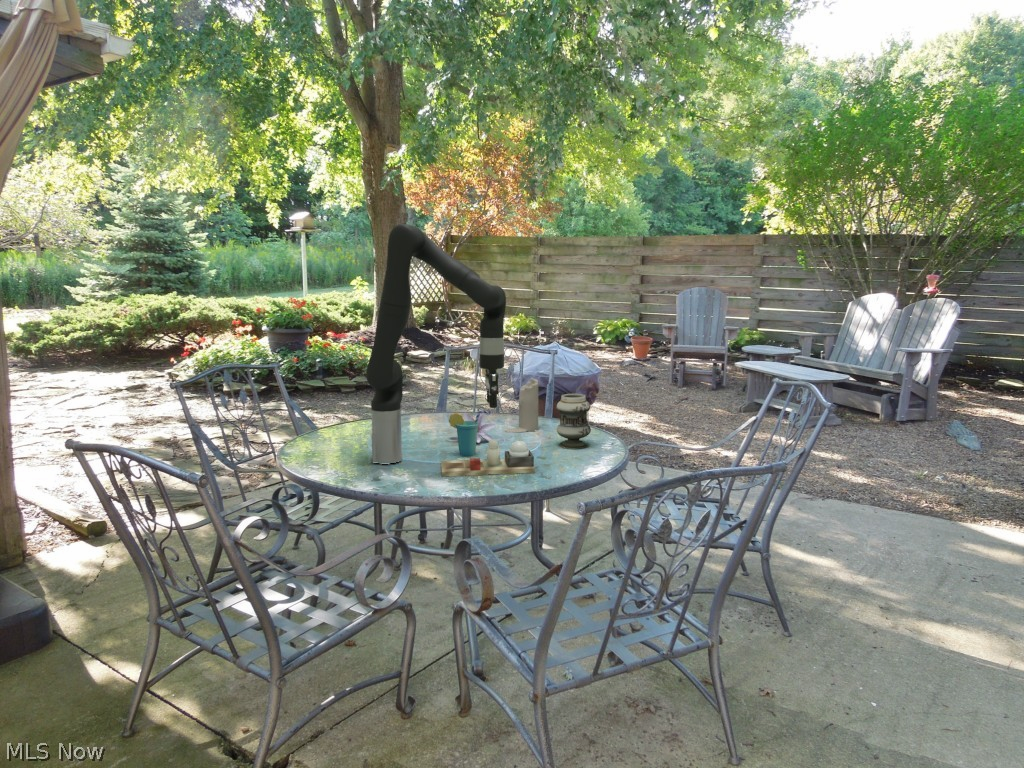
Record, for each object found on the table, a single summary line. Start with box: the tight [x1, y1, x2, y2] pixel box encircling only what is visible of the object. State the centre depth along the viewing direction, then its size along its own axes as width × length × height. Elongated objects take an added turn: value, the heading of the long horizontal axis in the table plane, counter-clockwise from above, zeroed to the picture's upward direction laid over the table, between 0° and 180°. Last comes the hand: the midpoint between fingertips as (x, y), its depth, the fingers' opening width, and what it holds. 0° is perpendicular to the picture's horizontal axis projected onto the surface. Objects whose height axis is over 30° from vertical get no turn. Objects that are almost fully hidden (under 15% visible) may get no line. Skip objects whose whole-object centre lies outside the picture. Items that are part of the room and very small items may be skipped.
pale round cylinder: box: [508, 440, 530, 457], centre depth 206 cm, size 6×6×6 cm
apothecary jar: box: [556, 393, 592, 450], centre depth 233 cm, size 12×12×18 cm
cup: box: [448, 409, 491, 457], centre depth 222 cm, size 14×8×15 cm, turn 99°
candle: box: [502, 377, 540, 433], centre depth 256 cm, size 7×14×20 cm, turn 107°
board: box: [440, 449, 536, 477], centre depth 205 cm, size 28×12×5 cm, turn 97°
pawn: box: [486, 438, 501, 466], centre depth 205 cm, size 4×4×8 cm
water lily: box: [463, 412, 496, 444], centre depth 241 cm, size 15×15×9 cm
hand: (491, 405), depth 203 cm, fingers open, 8 cm apart
